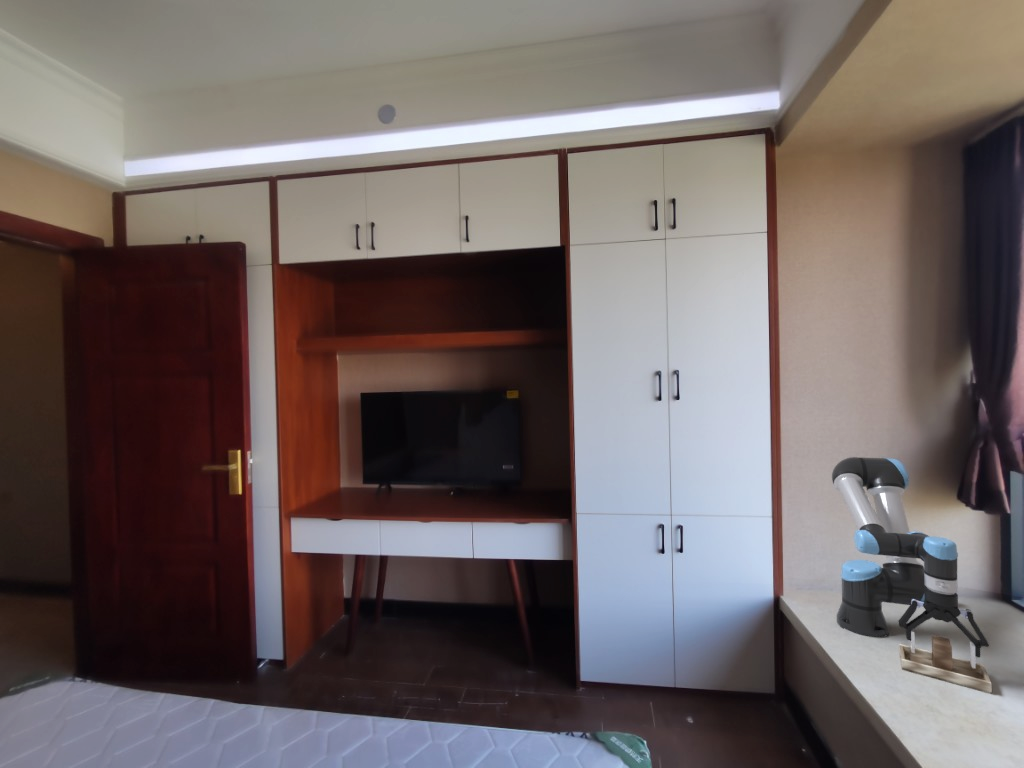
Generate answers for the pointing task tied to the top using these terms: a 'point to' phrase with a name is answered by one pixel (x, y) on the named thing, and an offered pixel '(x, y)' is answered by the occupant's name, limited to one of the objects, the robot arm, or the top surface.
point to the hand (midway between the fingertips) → (941, 658)
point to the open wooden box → (959, 675)
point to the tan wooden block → (941, 653)
